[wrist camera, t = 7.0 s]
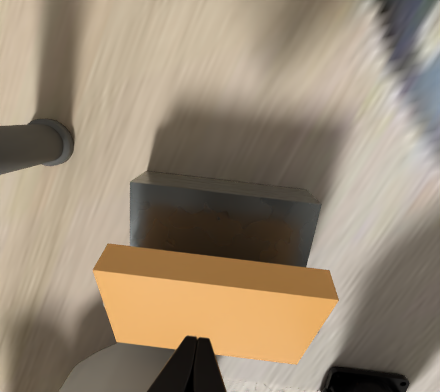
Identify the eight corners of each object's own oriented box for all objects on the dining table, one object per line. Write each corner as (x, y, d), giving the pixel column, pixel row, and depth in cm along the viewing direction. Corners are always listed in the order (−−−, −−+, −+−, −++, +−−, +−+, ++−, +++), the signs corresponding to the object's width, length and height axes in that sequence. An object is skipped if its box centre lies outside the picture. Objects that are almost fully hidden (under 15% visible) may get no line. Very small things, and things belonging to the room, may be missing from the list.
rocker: (335, 271, 13) (345, 301, 11) (297, 337, 17) (301, 365, 16) (101, 242, 13) (85, 269, 11) (121, 315, 17) (111, 341, 16)
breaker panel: (306, 189, 18) (328, 212, 14) (275, 328, 21) (286, 379, 17) (146, 171, 18) (121, 187, 14) (143, 312, 21) (122, 358, 17)
